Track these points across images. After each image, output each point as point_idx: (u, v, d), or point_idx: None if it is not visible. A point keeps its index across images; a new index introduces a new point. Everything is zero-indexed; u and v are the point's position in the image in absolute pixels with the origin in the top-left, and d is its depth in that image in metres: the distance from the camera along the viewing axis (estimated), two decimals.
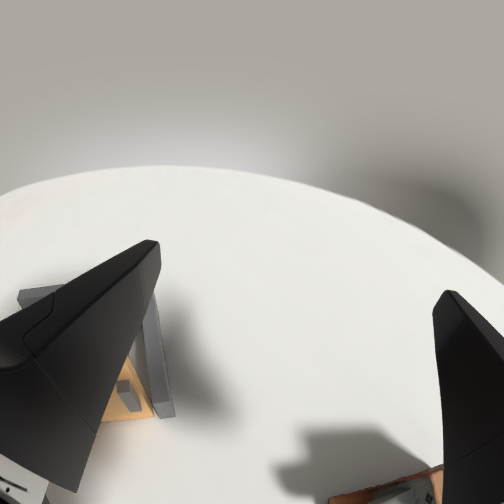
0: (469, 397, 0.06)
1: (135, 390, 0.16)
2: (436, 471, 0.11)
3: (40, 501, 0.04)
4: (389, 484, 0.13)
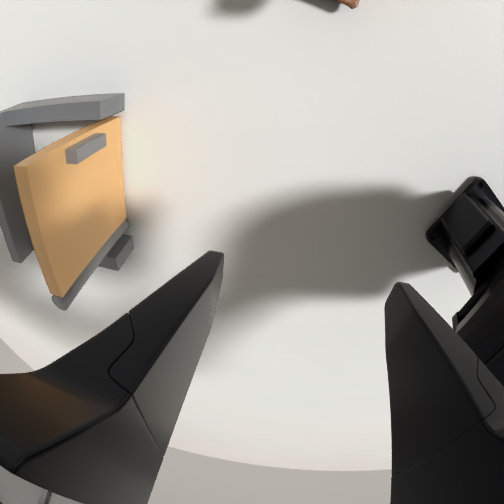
0: (416, 400, 0.06)
1: (80, 140, 0.14)
2: None
3: None
4: None
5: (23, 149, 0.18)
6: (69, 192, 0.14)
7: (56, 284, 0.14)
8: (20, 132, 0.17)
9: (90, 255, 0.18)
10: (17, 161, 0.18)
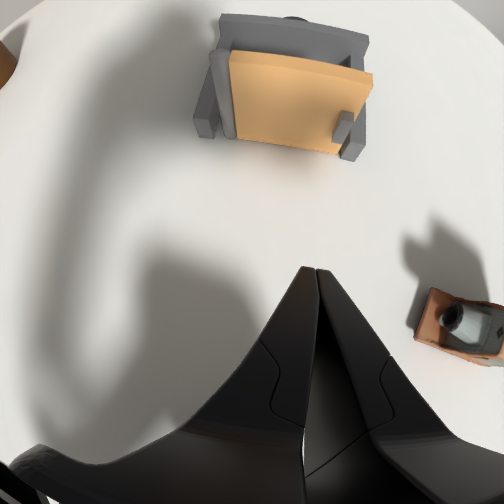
0: (320, 397, 0.06)
1: None
2: None
3: None
4: (477, 302, 0.18)
5: (319, 59, 0.23)
6: (316, 103, 0.17)
7: (246, 61, 0.14)
8: (335, 62, 0.23)
9: (238, 98, 0.18)
10: (313, 51, 0.23)
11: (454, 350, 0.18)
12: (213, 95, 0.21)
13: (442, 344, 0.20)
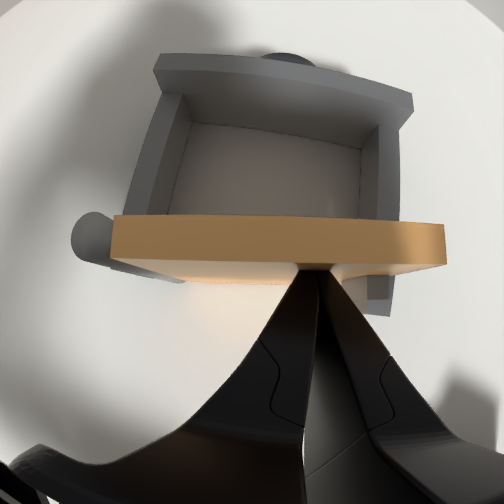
0: (320, 397, 0.06)
1: None
2: None
3: None
4: None
5: (325, 128, 0.16)
6: None
7: (150, 253, 0.06)
8: (351, 133, 0.16)
9: (166, 272, 0.10)
10: (316, 117, 0.15)
11: None
12: None
13: None
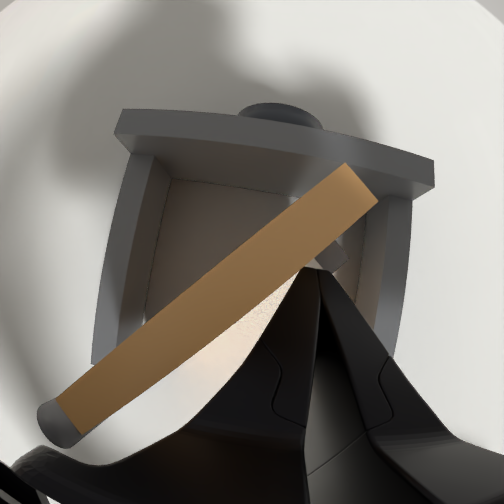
0: (319, 397, 0.06)
1: None
2: None
3: None
4: None
5: None
6: None
7: (103, 413, 0.05)
8: None
9: None
10: (314, 184, 0.13)
11: None
12: (116, 319, 0.12)
13: None
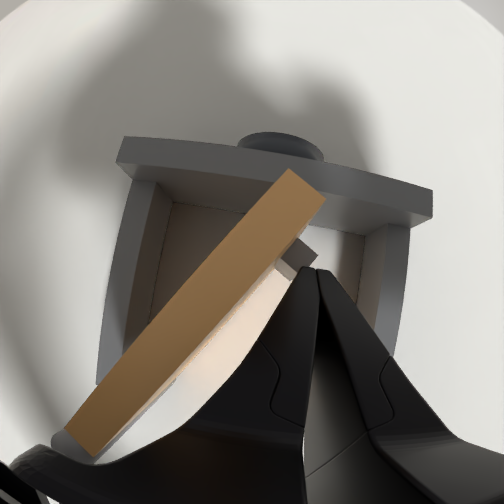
0: (319, 397, 0.06)
1: None
2: None
3: None
4: None
5: (324, 220, 0.14)
6: (242, 301, 0.09)
7: (108, 433, 0.05)
8: (355, 225, 0.14)
9: (147, 405, 0.09)
10: None
11: None
12: (121, 343, 0.12)
13: None
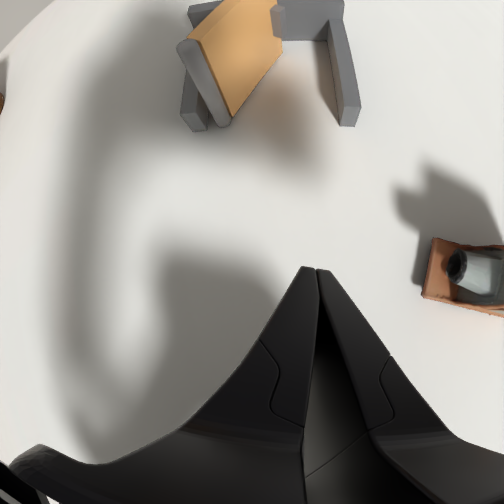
0: (320, 397, 0.06)
1: None
2: None
3: None
4: (485, 247, 0.16)
5: (298, 30, 0.21)
6: (257, 20, 0.16)
7: (209, 29, 0.13)
8: (316, 30, 0.21)
9: (219, 72, 0.17)
10: (290, 24, 0.20)
11: (467, 304, 0.16)
12: None
13: (454, 299, 0.18)
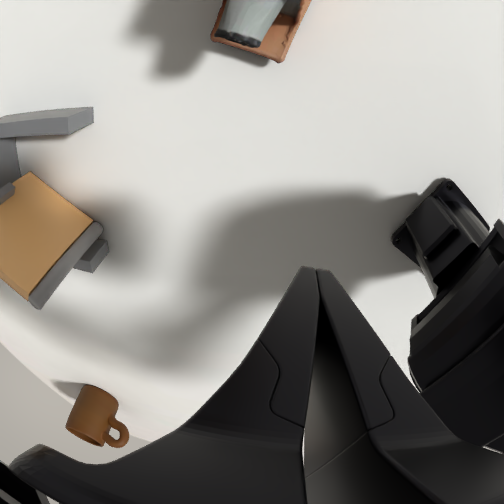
0: (320, 397, 0.06)
1: None
2: None
3: None
4: None
5: (7, 159, 0.19)
6: (2, 225, 0.16)
7: (17, 286, 0.15)
8: (3, 144, 0.18)
9: (52, 257, 0.18)
10: (1, 171, 0.19)
11: (299, 13, 0.11)
12: None
13: (293, 19, 0.12)
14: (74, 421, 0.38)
